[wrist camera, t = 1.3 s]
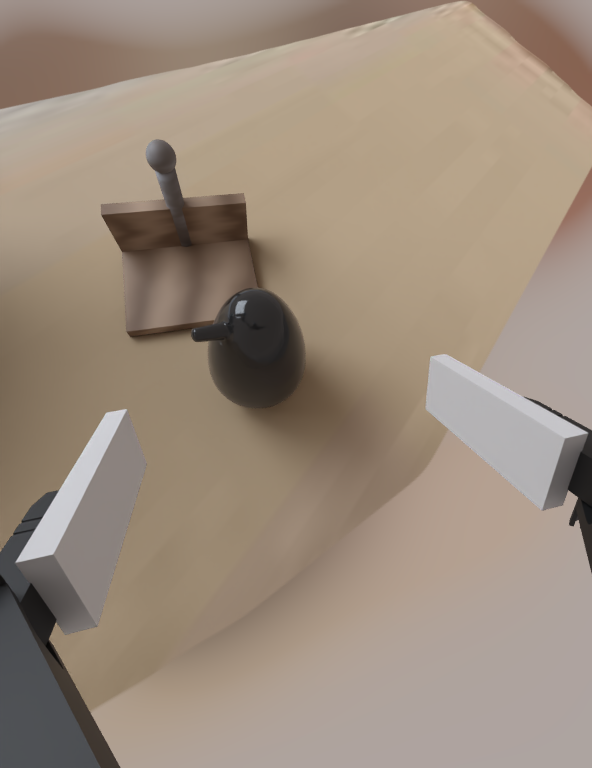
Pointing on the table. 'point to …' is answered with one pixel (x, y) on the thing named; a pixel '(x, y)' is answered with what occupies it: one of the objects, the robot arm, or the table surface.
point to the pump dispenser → (254, 349)
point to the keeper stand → (179, 252)
